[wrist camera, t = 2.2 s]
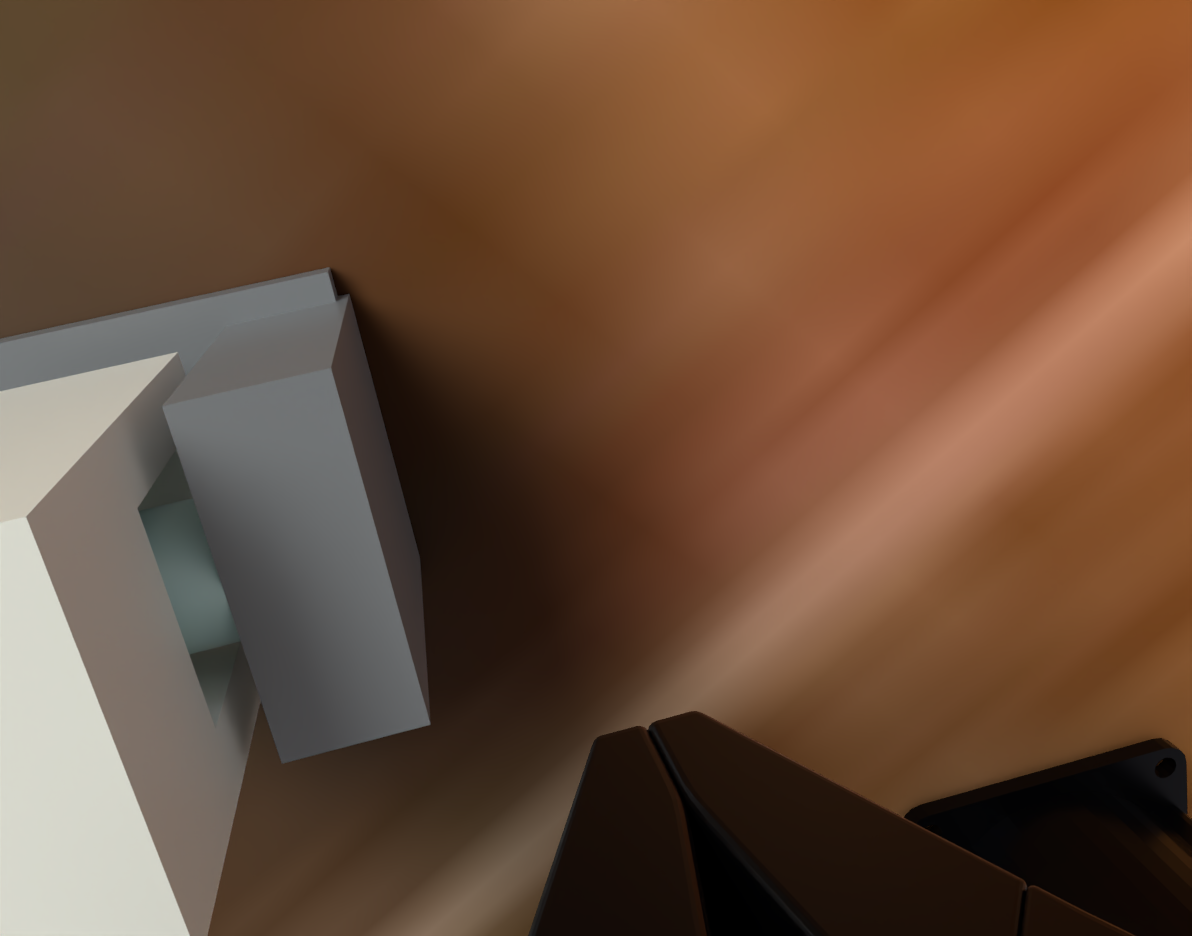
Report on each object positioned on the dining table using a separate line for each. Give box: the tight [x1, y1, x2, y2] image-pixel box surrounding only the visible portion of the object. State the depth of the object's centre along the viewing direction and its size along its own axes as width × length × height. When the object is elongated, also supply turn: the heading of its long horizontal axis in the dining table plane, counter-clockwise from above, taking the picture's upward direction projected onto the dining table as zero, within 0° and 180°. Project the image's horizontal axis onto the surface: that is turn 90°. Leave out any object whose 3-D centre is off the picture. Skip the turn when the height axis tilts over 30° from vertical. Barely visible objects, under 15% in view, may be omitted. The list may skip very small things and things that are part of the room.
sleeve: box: [0, 352, 261, 936], centre depth 14 cm, size 3×5×7 cm, turn 11°
